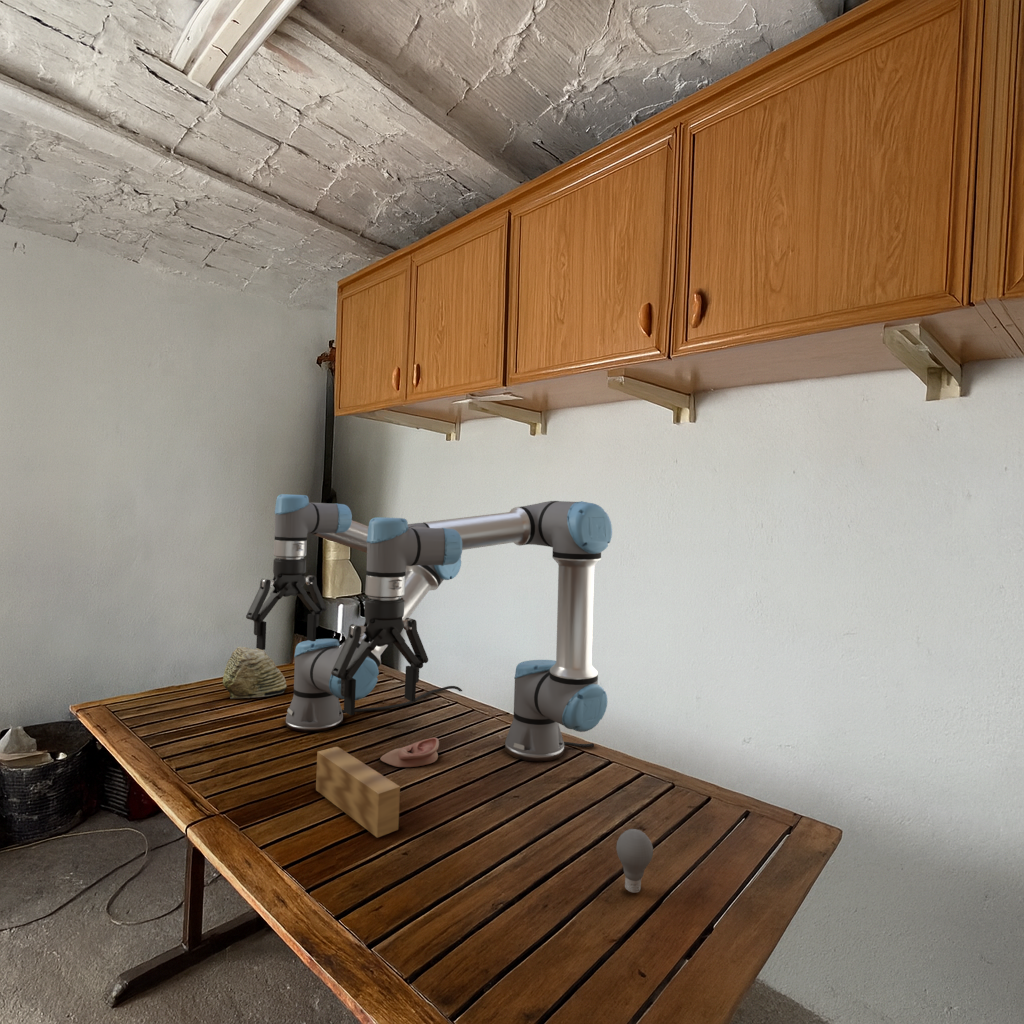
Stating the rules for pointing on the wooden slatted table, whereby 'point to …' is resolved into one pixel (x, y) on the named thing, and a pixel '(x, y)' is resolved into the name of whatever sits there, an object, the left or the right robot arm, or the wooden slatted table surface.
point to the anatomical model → (413, 754)
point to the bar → (358, 791)
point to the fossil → (252, 674)
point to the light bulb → (634, 857)
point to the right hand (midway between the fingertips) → (380, 706)
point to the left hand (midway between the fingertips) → (286, 644)
